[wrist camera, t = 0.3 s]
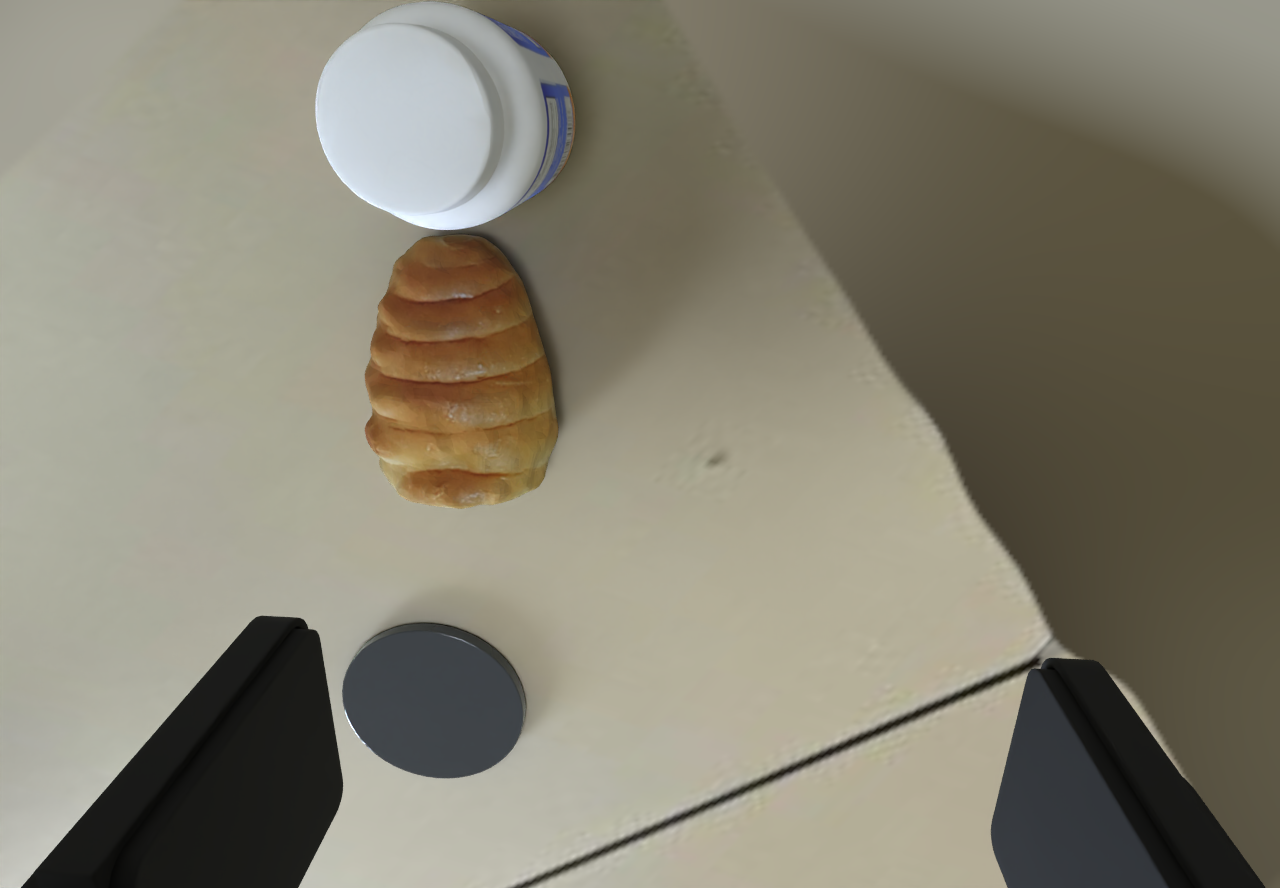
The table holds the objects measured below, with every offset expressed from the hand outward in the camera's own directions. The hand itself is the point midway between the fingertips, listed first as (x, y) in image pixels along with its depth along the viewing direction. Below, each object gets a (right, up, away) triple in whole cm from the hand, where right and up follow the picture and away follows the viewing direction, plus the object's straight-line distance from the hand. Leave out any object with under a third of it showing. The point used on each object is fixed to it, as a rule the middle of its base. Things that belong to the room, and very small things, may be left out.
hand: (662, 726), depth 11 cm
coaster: (-9, -8, +25) cm, 28 cm away
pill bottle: (-5, +15, +16) cm, 22 cm away
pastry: (-7, +6, +20) cm, 22 cm away
